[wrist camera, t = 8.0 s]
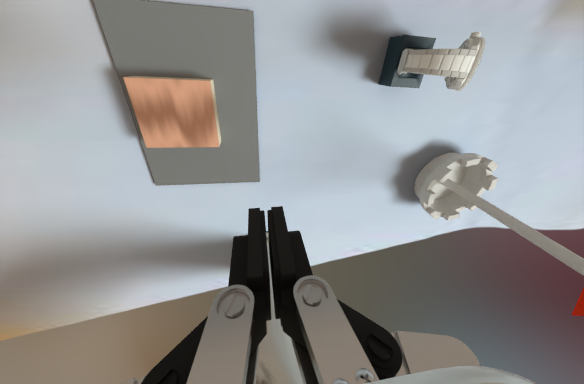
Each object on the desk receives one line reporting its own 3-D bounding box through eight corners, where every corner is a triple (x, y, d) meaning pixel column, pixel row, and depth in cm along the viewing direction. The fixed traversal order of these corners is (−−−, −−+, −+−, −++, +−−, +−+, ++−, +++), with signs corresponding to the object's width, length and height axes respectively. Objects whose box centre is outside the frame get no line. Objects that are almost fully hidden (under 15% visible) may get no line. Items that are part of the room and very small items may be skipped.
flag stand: (469, 133, 37) (911, 278, 12) (473, 183, 44) (763, 343, 19) (402, 171, 40) (664, 363, 14) (416, 214, 46) (610, 394, 21)
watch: (416, 86, 31) (484, 96, 22) (367, 83, 30) (418, 93, 21) (431, 40, 29) (517, 31, 19) (378, 35, 27) (443, 22, 18)
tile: (219, 147, 28) (146, 147, 27) (221, 141, 30) (154, 141, 29) (209, 80, 24) (123, 77, 23) (213, 79, 26) (134, 75, 25)
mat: (259, 180, 35) (259, 181, 35) (156, 183, 33) (155, 185, 32) (253, 11, 24) (253, 11, 23) (94, -4, 21) (91, -5, 21)
